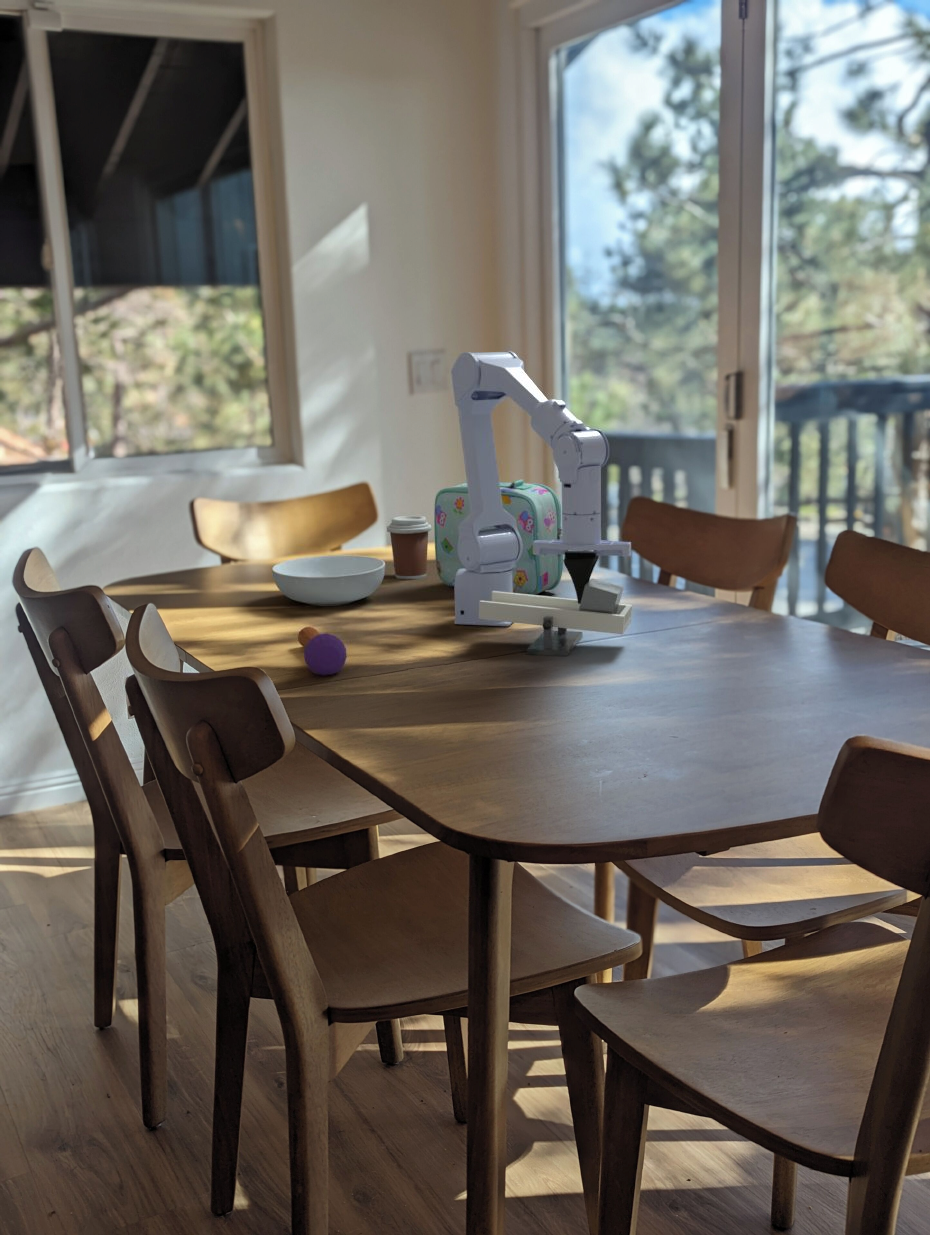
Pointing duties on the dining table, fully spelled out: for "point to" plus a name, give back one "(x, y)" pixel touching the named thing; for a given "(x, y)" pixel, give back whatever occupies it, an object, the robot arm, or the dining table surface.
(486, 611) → the balance beam
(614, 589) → the block
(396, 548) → the coffee cup
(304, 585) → the serving bowl
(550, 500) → the lunch box
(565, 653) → the beam stand
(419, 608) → the dining table surface
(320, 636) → the kendama
